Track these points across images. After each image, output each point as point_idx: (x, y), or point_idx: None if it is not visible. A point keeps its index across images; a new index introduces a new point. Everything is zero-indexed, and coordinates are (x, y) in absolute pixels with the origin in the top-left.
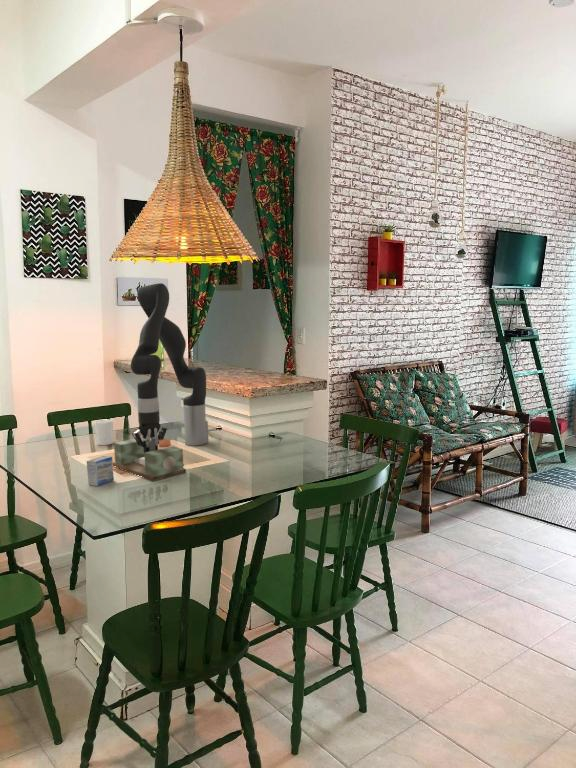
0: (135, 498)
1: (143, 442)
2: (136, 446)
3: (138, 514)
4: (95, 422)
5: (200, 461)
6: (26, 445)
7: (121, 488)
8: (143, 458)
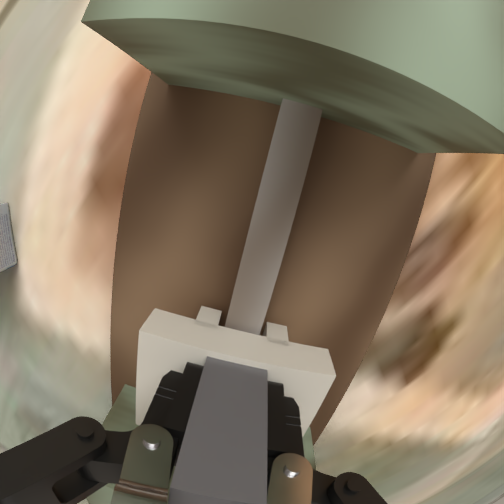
0: (25, 433)
1: (128, 471)
2: (343, 80)
3: None
4: None
5: (473, 387)
6: None
7: (12, 361)
8: (155, 365)
